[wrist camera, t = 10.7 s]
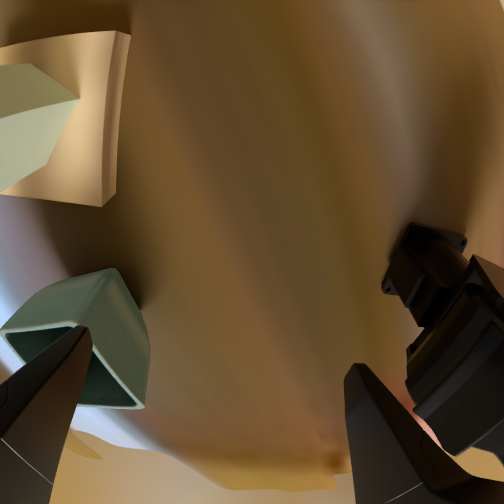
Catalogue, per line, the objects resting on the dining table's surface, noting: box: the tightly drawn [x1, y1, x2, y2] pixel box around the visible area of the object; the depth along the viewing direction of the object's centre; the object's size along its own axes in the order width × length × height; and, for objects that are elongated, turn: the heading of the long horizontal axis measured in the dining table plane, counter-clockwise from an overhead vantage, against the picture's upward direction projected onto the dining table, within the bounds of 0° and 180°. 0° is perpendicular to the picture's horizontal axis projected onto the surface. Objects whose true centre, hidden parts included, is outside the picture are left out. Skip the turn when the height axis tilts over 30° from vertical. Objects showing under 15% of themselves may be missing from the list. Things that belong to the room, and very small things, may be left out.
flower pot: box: [0, 268, 150, 409], centre depth 21 cm, size 9×9×9 cm
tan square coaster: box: [0, 31, 131, 207], centre depth 16 cm, size 11×11×3 cm
